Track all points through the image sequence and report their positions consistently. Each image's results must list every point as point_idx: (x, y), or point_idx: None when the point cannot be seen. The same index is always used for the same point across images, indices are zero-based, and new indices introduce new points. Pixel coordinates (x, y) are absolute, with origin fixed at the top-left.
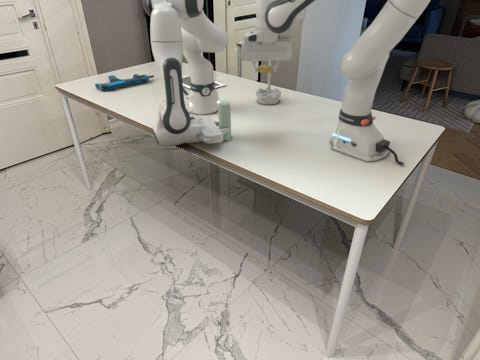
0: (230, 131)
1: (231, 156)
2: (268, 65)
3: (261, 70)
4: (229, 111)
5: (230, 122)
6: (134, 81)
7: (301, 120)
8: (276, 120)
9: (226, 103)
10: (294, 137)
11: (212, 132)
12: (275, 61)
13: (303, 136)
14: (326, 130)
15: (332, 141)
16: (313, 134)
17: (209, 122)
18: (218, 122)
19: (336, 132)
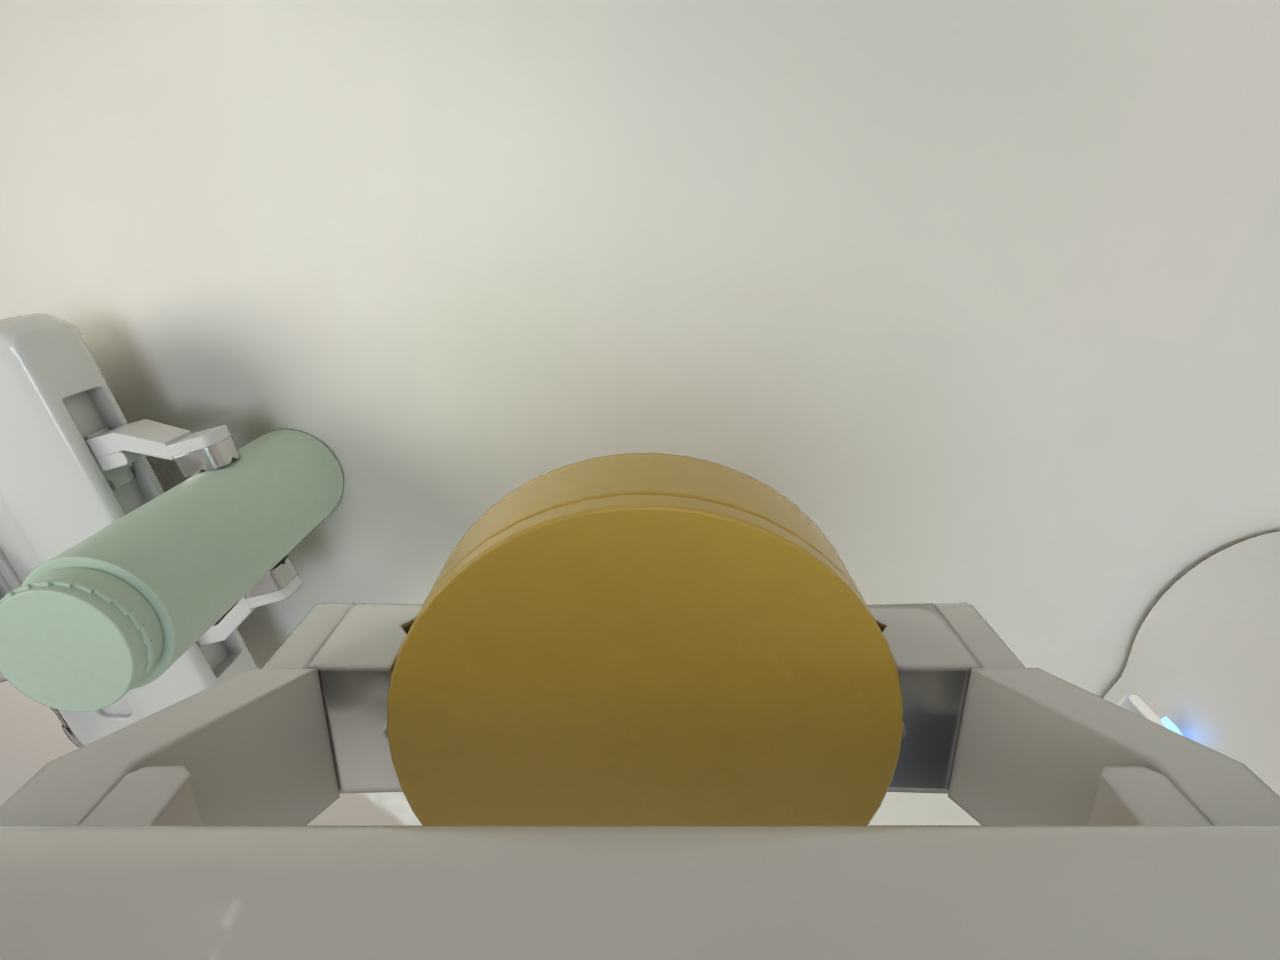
0: (312, 524)
1: None
2: (777, 606)
3: None
4: (197, 639)
5: (272, 558)
6: None
7: (1099, 133)
8: (824, 105)
9: (97, 676)
10: (882, 516)
11: (140, 716)
12: (1105, 808)
13: (964, 504)
14: (1222, 406)
15: (1144, 640)
16: (1065, 475)
17: (56, 514)
18: (154, 454)
19: (1212, 720)
